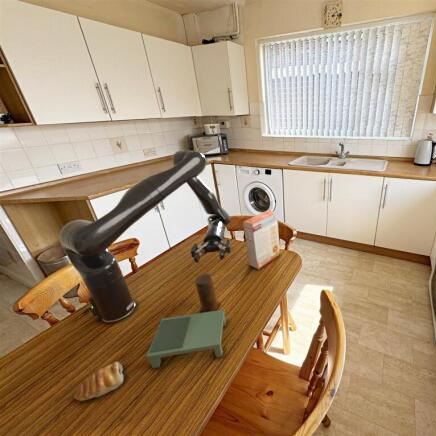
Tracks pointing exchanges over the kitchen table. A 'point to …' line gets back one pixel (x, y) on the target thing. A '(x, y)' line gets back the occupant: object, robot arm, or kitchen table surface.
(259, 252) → the cracker box
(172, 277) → the kitchen table surface
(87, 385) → the pastry
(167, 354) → the stand
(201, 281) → the pepper mill
